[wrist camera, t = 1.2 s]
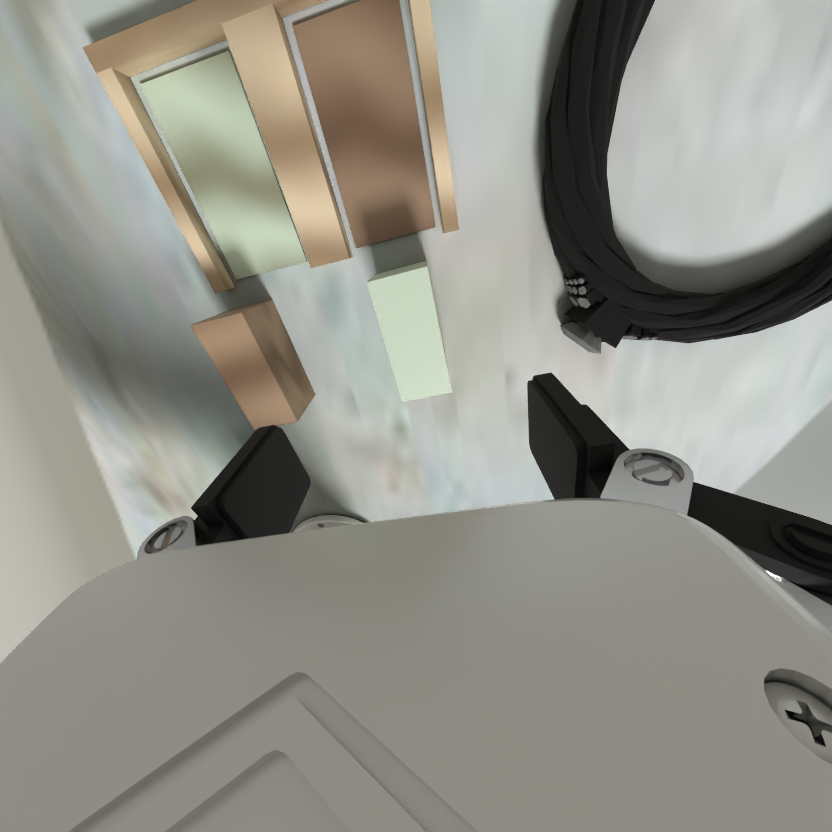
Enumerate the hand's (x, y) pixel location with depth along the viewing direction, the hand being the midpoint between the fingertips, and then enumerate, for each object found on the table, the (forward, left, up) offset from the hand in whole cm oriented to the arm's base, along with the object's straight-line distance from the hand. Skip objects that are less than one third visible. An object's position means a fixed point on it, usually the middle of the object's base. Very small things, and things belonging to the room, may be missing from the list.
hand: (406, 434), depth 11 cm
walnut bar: (0, +13, -17) cm, 21 cm away
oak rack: (+12, +5, -16) cm, 21 cm away
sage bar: (0, 0, -17) cm, 17 cm away
